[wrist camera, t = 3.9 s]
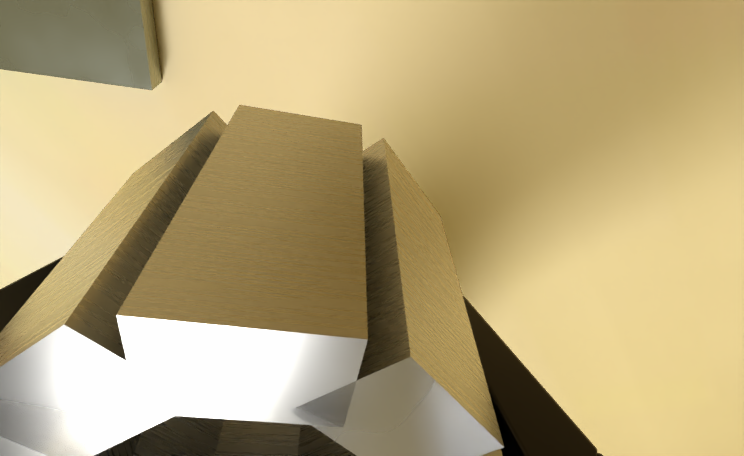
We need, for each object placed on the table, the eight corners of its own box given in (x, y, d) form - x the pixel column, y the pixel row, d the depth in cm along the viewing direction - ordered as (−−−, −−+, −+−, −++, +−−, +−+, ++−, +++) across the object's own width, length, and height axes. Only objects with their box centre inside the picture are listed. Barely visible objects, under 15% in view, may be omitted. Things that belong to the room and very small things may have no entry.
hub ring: (399, 358, 11) (420, 578, 7) (150, 334, 10) (38, 568, 7) (475, 143, 8) (585, 360, 4) (107, 83, 7) (-179, 286, 3)
